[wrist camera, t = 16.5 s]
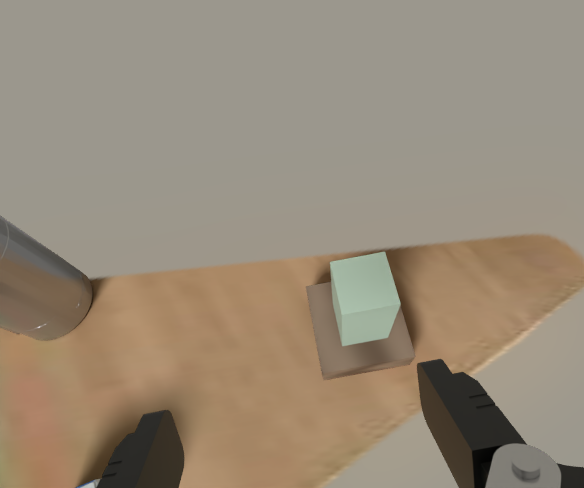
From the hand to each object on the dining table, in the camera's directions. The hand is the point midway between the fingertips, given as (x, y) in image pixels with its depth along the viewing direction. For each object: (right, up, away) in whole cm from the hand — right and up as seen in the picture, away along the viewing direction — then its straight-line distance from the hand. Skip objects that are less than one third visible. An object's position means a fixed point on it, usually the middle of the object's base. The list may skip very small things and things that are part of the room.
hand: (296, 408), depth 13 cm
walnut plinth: (+7, -4, +31) cm, 32 cm away
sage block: (+7, -2, +27) cm, 28 cm away
